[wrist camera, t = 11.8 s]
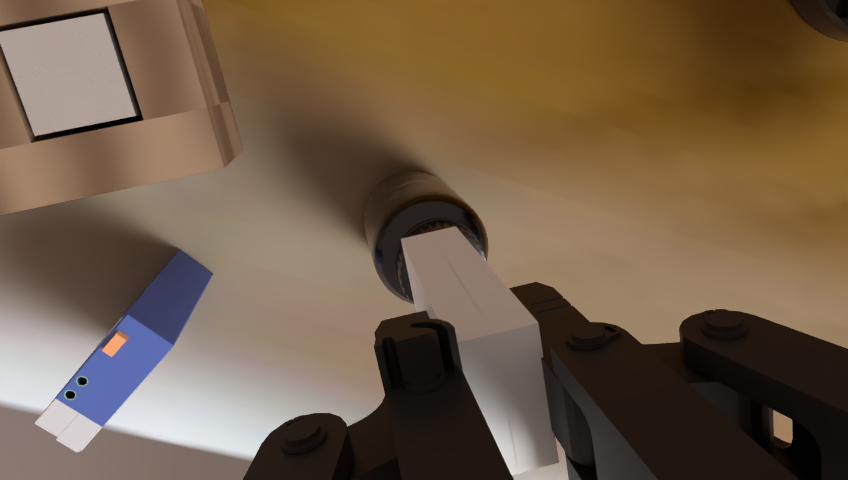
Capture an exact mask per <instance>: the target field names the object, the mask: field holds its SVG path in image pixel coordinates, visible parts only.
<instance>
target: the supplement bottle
mask: <svg viewBox="0 0 848 480" xmlns="http://www.w3.org/2000/svg"><path fill="white" fill-rule="evenodd" d="M455 226H456V227H457V228H458V230H459V231H460V232H461V233H462V234H463V235H464V237H465V238H466V239H467V240H468V241H469V242H470V244H471V245H472V246H473V247H474V248H475V249H476V251H477V252H478V253H479V254H480V255H481V256H482V258H483V259H484V260H485V261H487V257H488V238H487V233H486V230H485V227H484V225H483V223H482V221H481V219H480V218H479V216H478V215H477V213H476V212H475V211H474V210H473V209H472V208H471V207H470V206H469V205H468V204H467V203H466V202H465V201H464V200H463V199H462V198H461V197H460V196H459V195H457V194H456V193H455V192H454V191H453V190H452V189H451V188H450V187H449V186H448V185H447V184H445V183H444V182H443V181H442V180H440V179H439V178H437V177H435V176H433V175H431V174H428V173H424V172H419V171H407V172H402V173H398V174H395V175H393V176H391V177H389V178H387V179H386V180H384V181H383V182H381V183H380V184H379V185H378V186H377V187H376V188H375V190H374V191H373V192H372V194H371V195H370V197H369V199H368V201H367V204H366V207H365V211H364V229H365V234H366V238H367V241H368V245H369V248H370V251H371V255H372V258H373V262H374V265H375V268H376V271H377V273H378V275H379V277H380V279H381V281H382V282H383V284H384V285H385V286H386V287H387V288H388V289H389V290H390V291H391V292H392V293H393V294H394V295H396V296H397V297H399V298H400V299H402V300H404V301H406V302H409V303H412V304H414V300H413V295H412V290H411V285H410V280H409V276H408V271H407V266H406V261H405V257H404V252H403V247H402V242H401V239H402V238H407V237H411V236H415V235H420V234H424V233H429V232H433V231H437V230H442V229H446V228H451V227H455ZM414 305H415V304H414Z"/></svg>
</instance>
